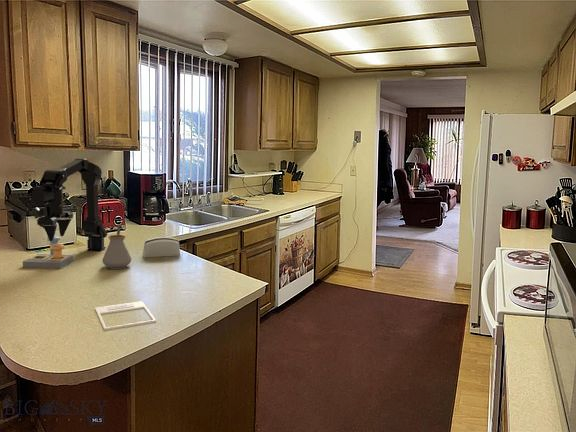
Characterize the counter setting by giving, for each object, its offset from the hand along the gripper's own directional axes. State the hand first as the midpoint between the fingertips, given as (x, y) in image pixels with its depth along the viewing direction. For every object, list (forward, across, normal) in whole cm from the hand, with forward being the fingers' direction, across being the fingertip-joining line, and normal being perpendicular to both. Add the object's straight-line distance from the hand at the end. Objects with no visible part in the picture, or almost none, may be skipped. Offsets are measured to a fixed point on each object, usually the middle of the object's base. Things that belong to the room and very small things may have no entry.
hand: (56, 238), depth 193 cm
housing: (+11, 0, -4) cm, 12 cm away
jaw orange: (+11, 0, 0) cm, 11 cm away
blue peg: (+11, -15, -9) cm, 21 cm away
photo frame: (+12, +52, +45) cm, 70 cm away
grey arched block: (+11, -21, +38) cm, 45 cm away
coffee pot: (+11, -5, +23) cm, 26 cm away
